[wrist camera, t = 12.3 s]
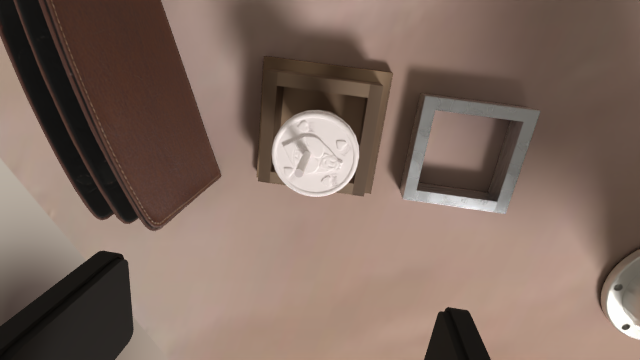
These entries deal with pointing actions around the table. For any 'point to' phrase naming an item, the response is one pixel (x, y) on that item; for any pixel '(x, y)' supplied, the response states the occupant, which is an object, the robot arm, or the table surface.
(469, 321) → the robot arm
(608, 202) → the table surface
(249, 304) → the table surface
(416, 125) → the holder
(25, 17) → the letter holder
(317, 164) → the smoothie
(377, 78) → the socket
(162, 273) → the table surface
